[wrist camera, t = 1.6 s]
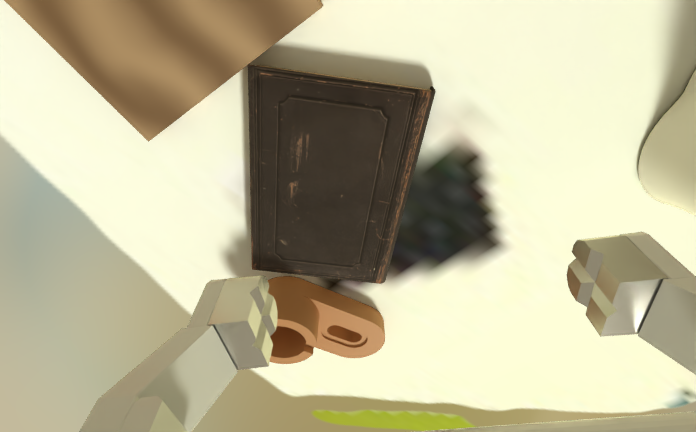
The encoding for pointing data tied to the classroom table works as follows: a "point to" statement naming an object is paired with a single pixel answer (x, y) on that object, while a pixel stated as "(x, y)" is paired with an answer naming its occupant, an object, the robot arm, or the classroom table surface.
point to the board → (161, 47)
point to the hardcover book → (330, 170)
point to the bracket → (321, 322)
